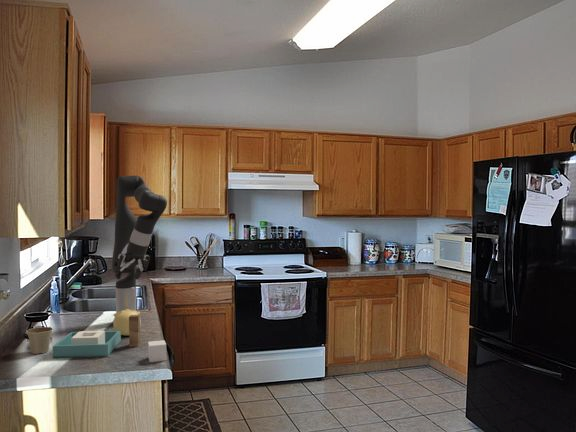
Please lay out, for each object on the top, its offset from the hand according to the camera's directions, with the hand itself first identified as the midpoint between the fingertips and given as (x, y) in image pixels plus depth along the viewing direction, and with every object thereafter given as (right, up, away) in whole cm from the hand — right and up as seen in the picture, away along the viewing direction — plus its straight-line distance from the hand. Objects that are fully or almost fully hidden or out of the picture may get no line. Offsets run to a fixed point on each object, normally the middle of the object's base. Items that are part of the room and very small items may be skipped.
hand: (126, 278), depth 202 cm
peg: (+2, -27, +4) cm, 28 cm away
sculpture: (-7, -27, +21) cm, 35 cm away
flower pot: (-32, -28, -4) cm, 43 cm away
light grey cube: (+16, -28, -14) cm, 35 cm away
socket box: (-15, -28, -1) cm, 31 cm away
